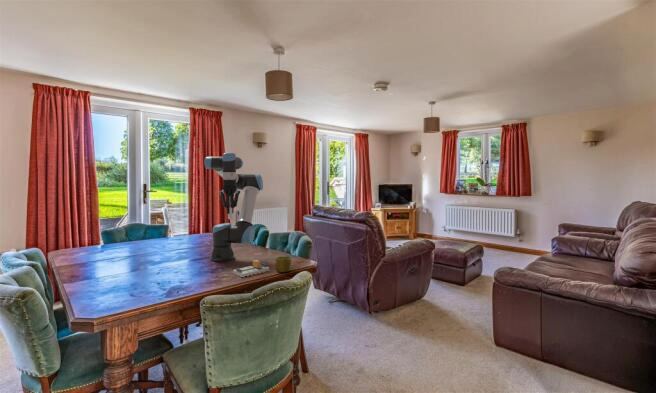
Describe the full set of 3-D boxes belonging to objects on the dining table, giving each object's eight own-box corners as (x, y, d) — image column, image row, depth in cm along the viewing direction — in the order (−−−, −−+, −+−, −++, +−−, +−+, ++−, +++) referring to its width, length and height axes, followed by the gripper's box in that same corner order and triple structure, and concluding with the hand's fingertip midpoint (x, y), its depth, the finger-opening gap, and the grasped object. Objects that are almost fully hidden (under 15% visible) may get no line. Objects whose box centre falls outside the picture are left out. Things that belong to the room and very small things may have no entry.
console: (233, 273, 185) (233, 267, 185) (260, 267, 197) (260, 261, 197) (241, 277, 178) (241, 271, 178) (269, 270, 190) (269, 265, 190)
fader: (252, 266, 190) (252, 260, 190) (256, 265, 192) (256, 259, 192) (256, 268, 187) (256, 261, 187) (260, 267, 189) (260, 261, 189)
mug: (290, 271, 184) (286, 254, 186) (274, 275, 186) (270, 258, 188) (298, 269, 196) (294, 253, 197) (282, 272, 198) (279, 257, 200)
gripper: (221, 179, 182) (222, 221, 184) (242, 179, 191) (243, 218, 193) (216, 179, 187) (216, 219, 189) (236, 178, 196) (237, 217, 198)
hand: (230, 218), depth 191 cm, fingers closed
